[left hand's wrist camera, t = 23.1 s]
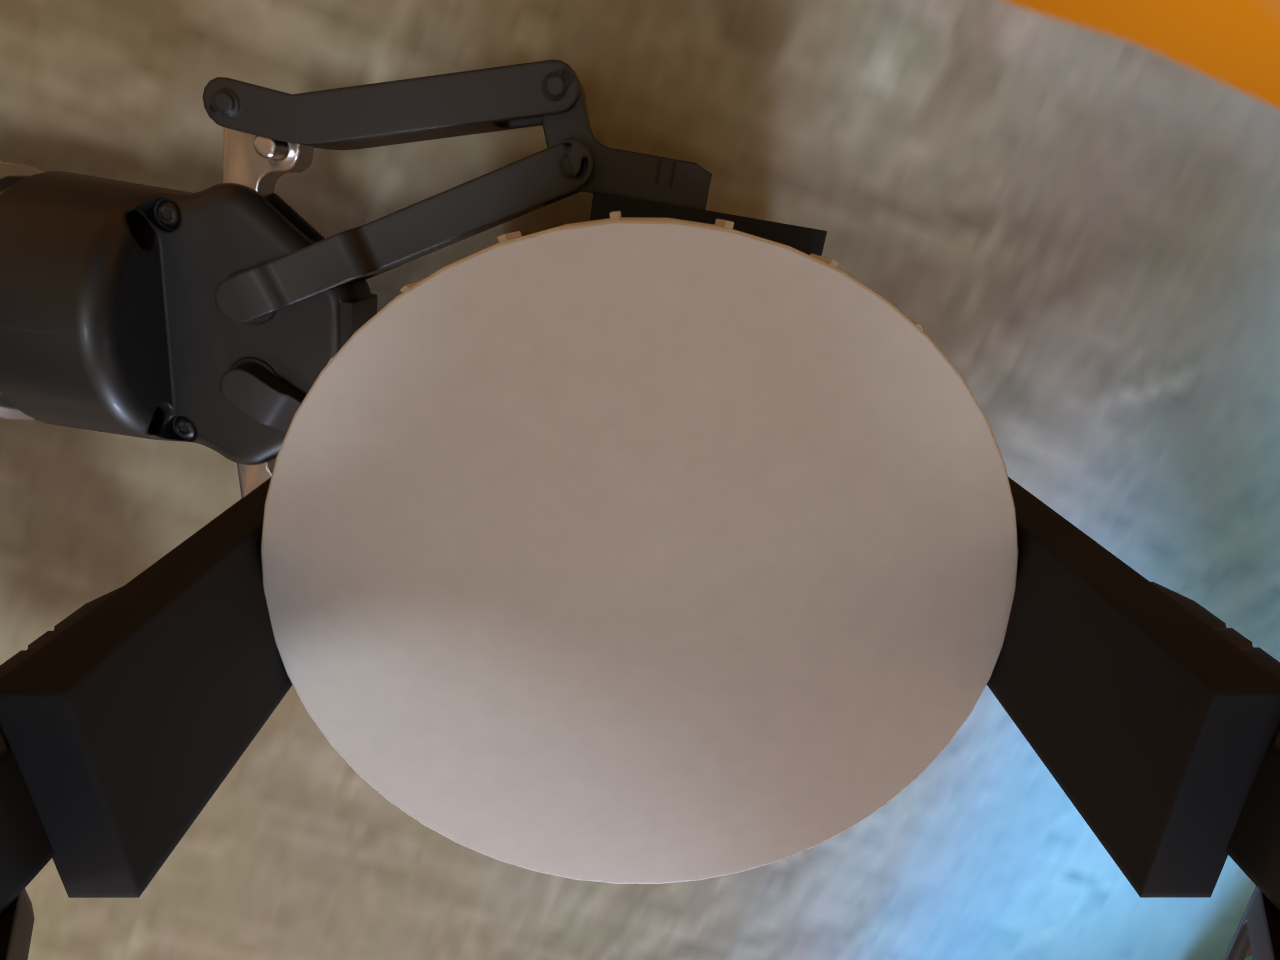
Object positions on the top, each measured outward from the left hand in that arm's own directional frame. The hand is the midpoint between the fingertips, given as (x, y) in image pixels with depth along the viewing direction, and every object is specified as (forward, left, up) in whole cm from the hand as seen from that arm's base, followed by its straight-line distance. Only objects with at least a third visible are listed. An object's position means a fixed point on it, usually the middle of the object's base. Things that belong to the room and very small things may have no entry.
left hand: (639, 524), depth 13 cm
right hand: (-4, -2, -10) cm, 11 cm away
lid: (0, 0, +3) cm, 3 cm away
